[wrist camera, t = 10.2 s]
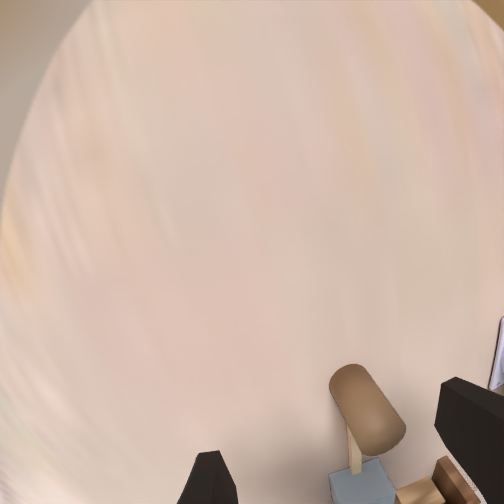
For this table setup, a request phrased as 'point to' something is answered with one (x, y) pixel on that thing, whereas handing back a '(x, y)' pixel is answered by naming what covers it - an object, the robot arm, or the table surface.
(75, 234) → the table surface
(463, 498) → the walnut shelf
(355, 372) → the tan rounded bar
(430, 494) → the oak block
